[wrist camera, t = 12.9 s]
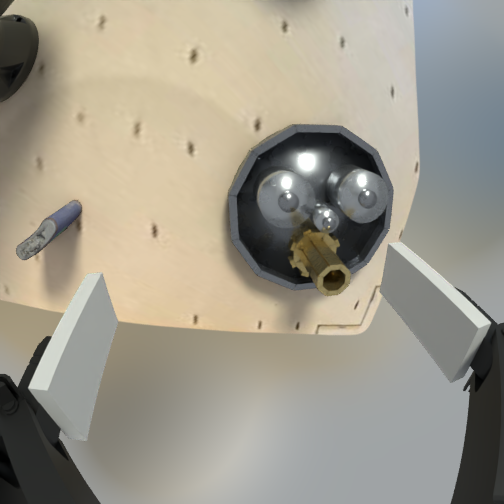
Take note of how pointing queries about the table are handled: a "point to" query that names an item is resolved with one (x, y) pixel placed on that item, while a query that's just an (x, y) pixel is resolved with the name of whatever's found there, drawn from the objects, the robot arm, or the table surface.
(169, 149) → the table surface
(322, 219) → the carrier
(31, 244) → the flask
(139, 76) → the table surface
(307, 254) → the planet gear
